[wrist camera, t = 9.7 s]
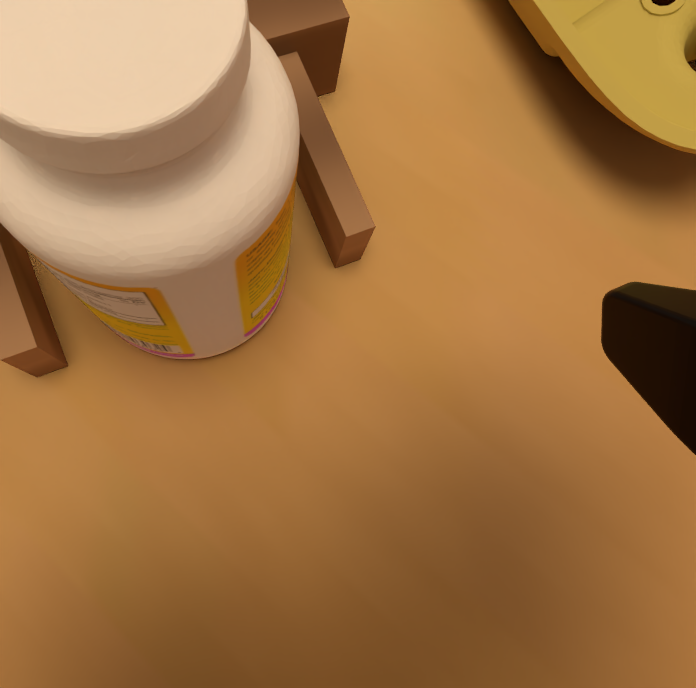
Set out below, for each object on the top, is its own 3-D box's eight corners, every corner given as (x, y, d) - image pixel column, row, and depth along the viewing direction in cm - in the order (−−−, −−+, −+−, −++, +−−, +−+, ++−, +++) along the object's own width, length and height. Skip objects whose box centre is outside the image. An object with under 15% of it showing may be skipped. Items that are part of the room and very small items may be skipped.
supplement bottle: (255, 160, 23) (246, -212, 11) (311, 331, 22) (374, 139, 10) (66, 206, 22) (-193, -156, 9) (116, 389, 21) (-100, 254, 8)
